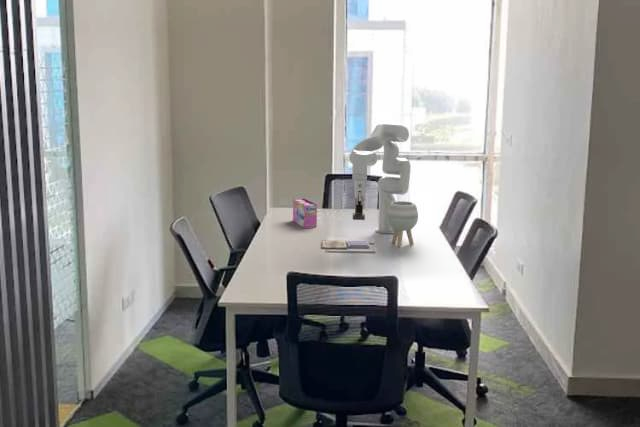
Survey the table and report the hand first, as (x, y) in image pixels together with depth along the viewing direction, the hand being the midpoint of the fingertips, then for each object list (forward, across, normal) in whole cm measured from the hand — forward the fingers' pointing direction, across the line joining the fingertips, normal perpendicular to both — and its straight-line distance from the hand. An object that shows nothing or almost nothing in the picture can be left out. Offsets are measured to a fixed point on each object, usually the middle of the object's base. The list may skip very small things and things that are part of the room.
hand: (358, 211), depth 363 cm
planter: (+18, +3, -23) cm, 30 cm away
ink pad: (+18, 0, 0) cm, 18 cm away
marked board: (+18, 0, +12) cm, 22 cm away
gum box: (+19, +56, +30) cm, 66 cm away
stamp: (+4, 0, 0) cm, 4 cm away
